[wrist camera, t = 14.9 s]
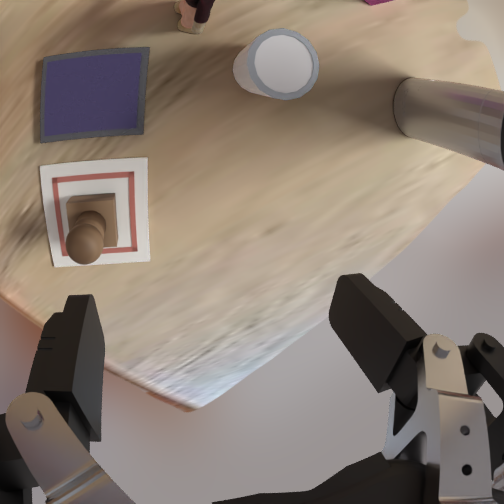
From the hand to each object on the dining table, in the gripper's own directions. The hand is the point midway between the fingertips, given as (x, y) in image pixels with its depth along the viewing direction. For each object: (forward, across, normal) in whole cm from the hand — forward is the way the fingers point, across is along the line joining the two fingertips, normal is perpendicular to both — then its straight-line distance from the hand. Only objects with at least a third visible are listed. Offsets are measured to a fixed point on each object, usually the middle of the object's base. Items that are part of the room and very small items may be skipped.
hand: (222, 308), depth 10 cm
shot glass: (+26, -8, -10) cm, 29 cm away
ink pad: (+25, +9, -7) cm, 27 cm away
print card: (+24, +9, +6) cm, 27 cm away
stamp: (+24, +9, +6) cm, 26 cm away
